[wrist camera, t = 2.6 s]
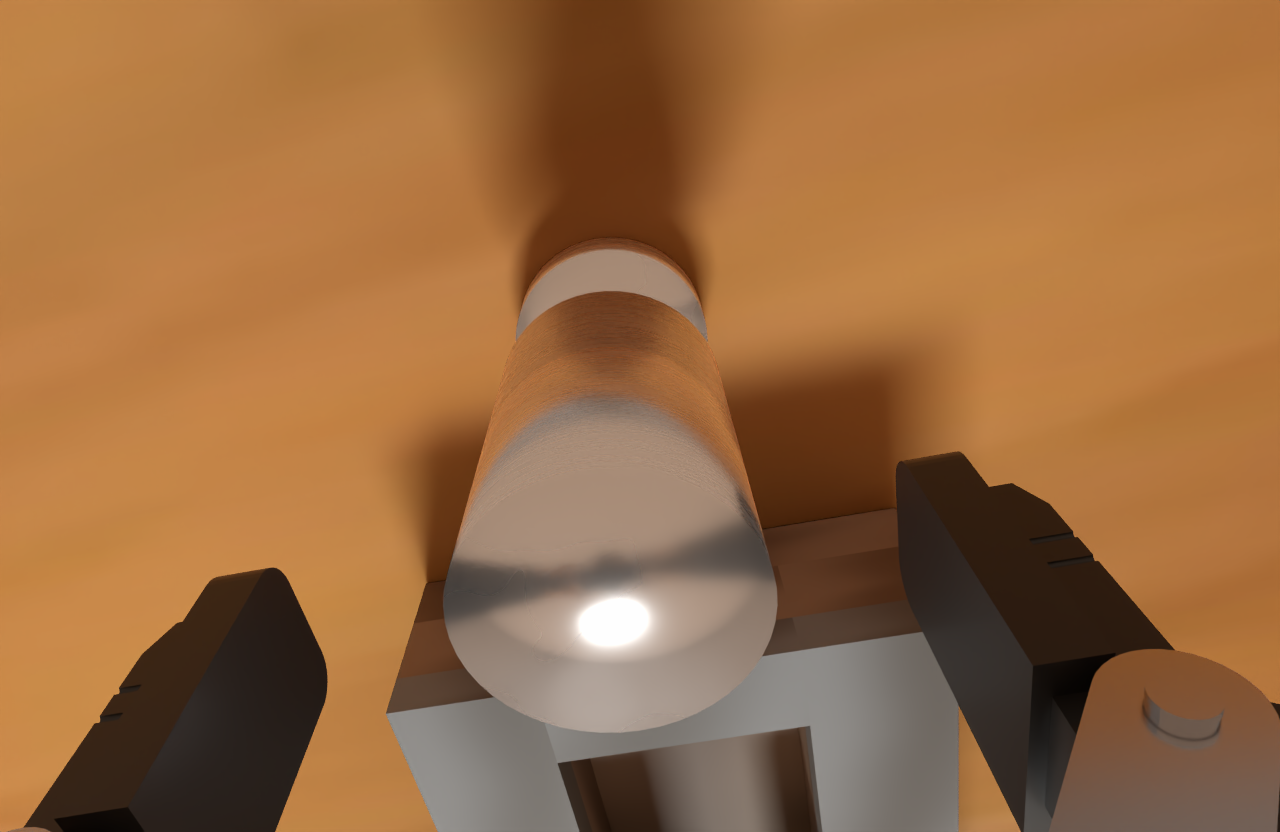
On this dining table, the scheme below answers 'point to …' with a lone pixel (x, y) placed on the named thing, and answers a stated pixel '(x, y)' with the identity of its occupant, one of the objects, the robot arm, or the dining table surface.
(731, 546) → the steel peg
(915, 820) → the keyhole block
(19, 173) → the dining table surface
